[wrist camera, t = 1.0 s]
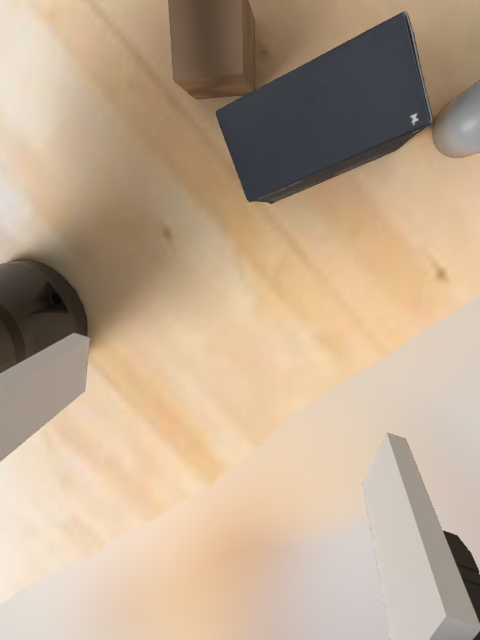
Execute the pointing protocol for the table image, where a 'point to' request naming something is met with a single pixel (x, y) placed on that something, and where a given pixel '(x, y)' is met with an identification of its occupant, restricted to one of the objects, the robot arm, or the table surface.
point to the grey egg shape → (459, 125)
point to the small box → (329, 114)
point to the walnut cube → (213, 47)
